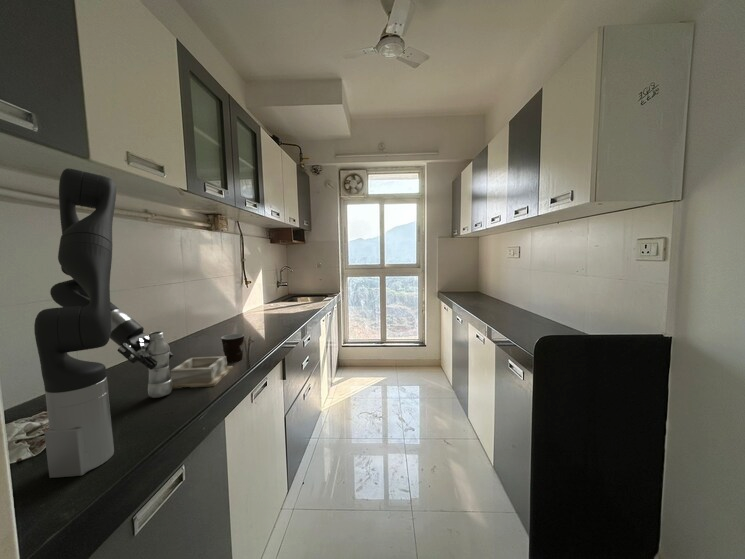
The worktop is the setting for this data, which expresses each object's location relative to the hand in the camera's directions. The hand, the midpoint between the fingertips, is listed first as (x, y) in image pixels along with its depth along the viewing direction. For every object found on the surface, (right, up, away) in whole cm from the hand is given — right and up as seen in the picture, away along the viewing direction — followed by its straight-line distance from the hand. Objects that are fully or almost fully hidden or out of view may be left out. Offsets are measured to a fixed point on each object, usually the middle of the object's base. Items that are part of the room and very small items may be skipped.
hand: (163, 362), depth 94 cm
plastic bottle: (-1, -11, +1) cm, 11 cm away
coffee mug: (+6, -8, +31) cm, 33 cm away
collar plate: (+4, -9, +14) cm, 17 cm away
